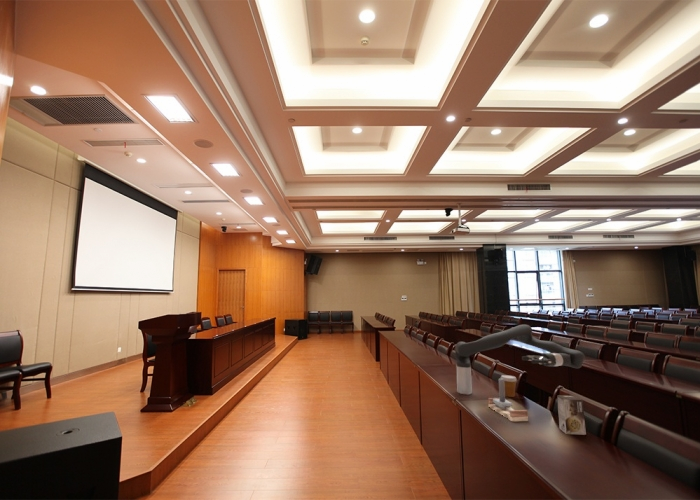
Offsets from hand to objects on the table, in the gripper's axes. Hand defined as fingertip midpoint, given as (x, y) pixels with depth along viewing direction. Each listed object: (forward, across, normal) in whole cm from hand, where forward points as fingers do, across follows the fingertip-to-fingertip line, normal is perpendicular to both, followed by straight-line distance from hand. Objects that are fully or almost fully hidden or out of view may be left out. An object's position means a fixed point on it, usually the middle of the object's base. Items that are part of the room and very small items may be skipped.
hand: (527, 359), depth 190 cm
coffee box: (0, +30, +28) cm, 41 cm away
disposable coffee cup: (-5, -26, +28) cm, 39 cm away
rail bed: (+17, +4, +28) cm, 33 cm away
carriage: (+17, 0, +26) cm, 31 cm away
